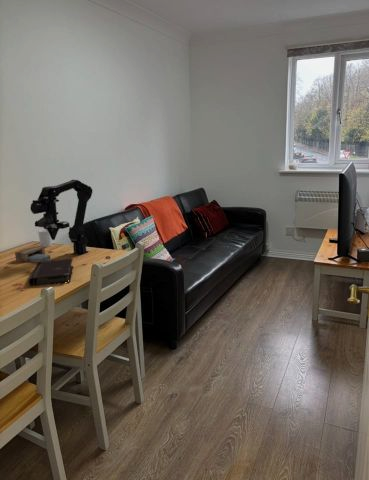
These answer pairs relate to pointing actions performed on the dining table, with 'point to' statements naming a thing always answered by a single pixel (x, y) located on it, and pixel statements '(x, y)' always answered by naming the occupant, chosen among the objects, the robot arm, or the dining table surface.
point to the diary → (52, 272)
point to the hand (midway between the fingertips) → (53, 239)
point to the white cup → (45, 238)
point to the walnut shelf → (23, 254)
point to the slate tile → (38, 257)
